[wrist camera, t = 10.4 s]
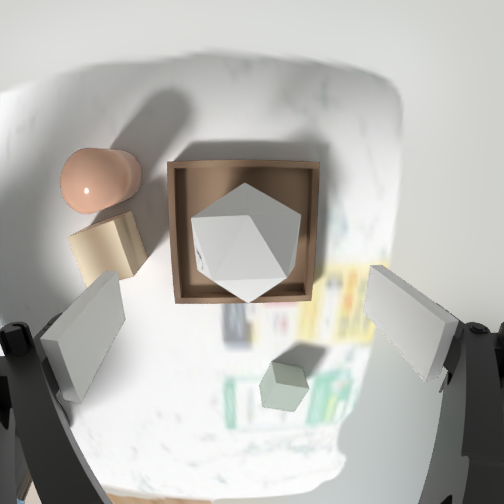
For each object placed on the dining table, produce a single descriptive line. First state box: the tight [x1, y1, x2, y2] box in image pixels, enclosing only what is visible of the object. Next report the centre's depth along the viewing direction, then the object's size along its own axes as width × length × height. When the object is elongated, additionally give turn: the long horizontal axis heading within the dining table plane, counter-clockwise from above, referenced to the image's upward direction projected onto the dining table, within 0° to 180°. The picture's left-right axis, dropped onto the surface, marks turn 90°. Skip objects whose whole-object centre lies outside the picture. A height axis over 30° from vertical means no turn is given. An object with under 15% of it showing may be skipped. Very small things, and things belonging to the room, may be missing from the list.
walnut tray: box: [167, 160, 320, 304], centre depth 27 cm, size 13×13×2 cm
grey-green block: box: [259, 361, 309, 412], centre depth 32 cm, size 4×4×4 cm
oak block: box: [68, 211, 148, 288], centre depth 25 cm, size 5×5×5 cm
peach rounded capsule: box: [60, 148, 142, 214], centre depth 23 cm, size 5×5×7 cm
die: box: [191, 183, 301, 303], centre depth 24 cm, size 8×9×10 cm
